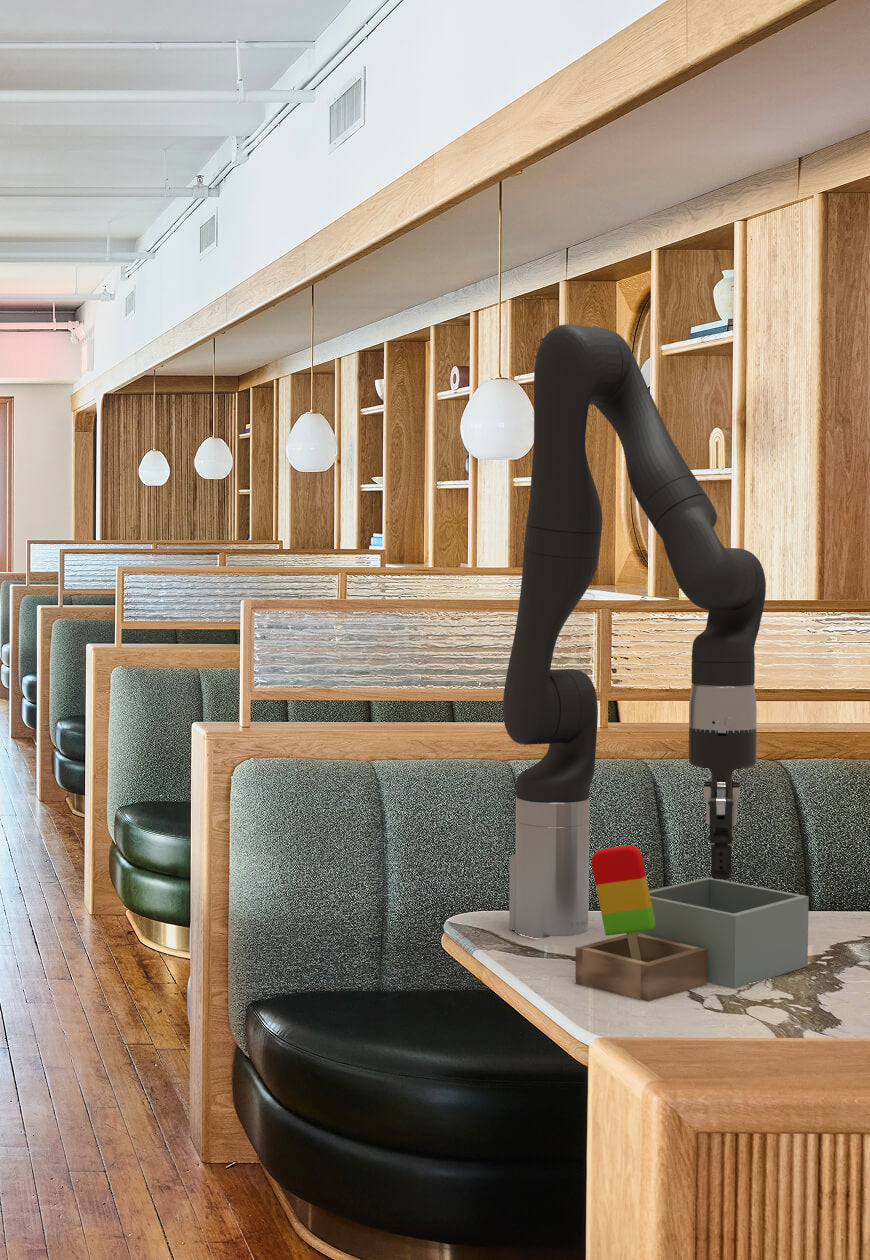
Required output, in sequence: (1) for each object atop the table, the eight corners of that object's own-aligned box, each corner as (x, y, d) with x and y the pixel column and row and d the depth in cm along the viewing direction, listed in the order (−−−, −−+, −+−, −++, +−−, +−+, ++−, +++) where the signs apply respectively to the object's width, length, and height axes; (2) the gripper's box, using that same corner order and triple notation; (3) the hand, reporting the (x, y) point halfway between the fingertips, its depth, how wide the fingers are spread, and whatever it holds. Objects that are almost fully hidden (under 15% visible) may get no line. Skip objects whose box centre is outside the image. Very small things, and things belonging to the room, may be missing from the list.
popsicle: (587, 852, 161) (591, 849, 163) (615, 989, 161) (618, 984, 163) (637, 845, 159) (640, 842, 161) (664, 983, 159) (667, 978, 161)
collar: (575, 984, 161) (575, 947, 161) (634, 967, 168) (634, 932, 168) (647, 1004, 154) (648, 966, 153) (706, 985, 160) (706, 949, 160)
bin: (632, 963, 169) (633, 894, 169) (707, 942, 179) (707, 877, 178) (734, 989, 159) (735, 916, 159) (807, 966, 169) (808, 896, 168)
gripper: (691, 717, 175) (690, 863, 176) (686, 729, 162) (685, 887, 162) (756, 719, 174) (755, 866, 174) (756, 731, 160) (755, 890, 161)
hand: (721, 875), depth 168 cm, fingers closed
